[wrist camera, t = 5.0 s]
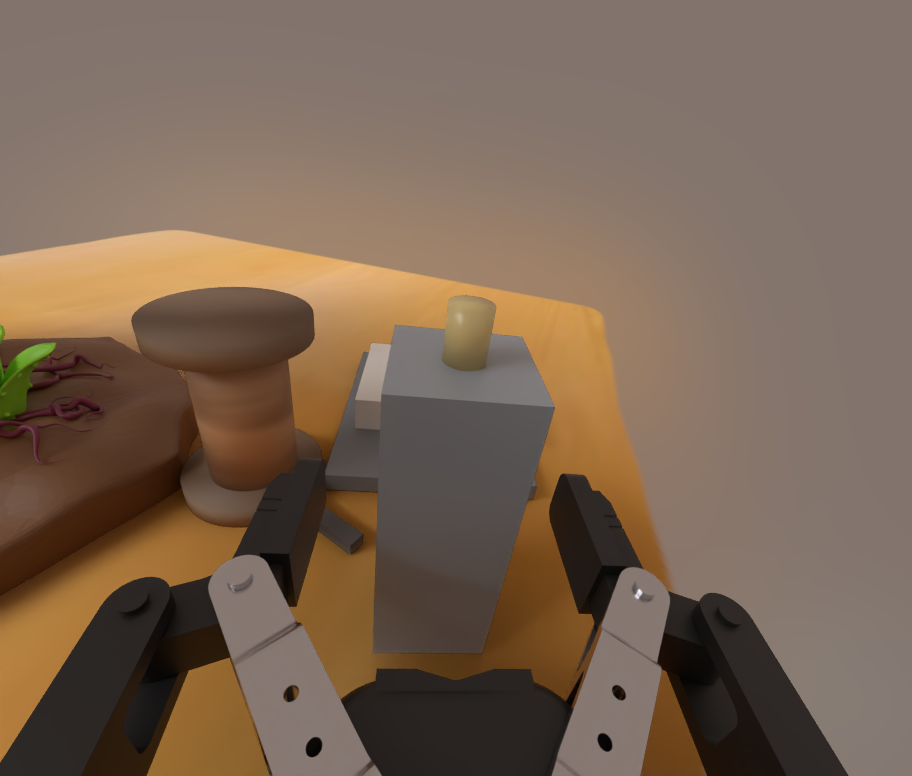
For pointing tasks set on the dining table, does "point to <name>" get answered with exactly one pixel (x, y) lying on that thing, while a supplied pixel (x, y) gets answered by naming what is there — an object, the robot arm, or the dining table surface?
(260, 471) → the bobbin
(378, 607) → the gray block with knob
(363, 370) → the grey u-shaped stand base
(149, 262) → the dining table surface
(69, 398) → the plant
